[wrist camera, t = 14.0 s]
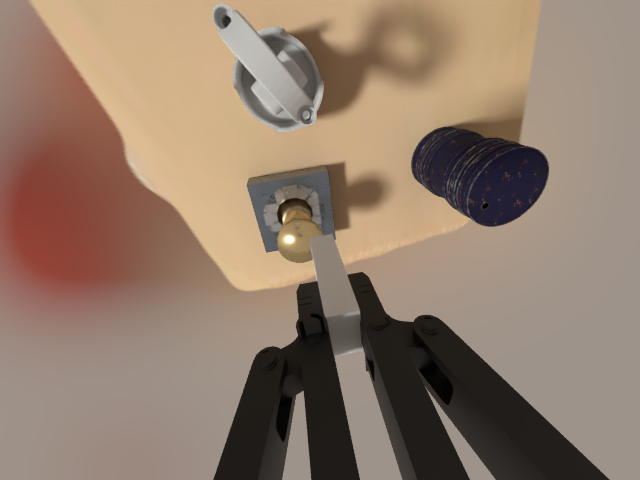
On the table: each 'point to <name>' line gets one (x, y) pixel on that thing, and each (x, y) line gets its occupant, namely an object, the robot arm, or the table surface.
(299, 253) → the brass flared knob
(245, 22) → the engine component
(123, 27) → the table surface
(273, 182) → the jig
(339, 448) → the robot arm
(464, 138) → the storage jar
